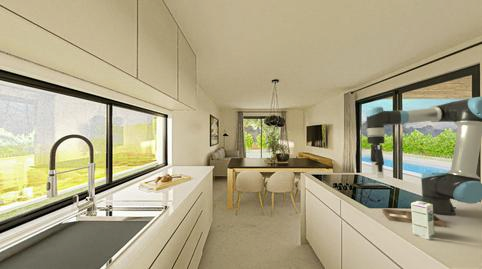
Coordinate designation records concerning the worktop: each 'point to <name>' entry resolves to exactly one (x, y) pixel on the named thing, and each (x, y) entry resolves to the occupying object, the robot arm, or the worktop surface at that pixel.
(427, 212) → the syrup box
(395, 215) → the caddy
